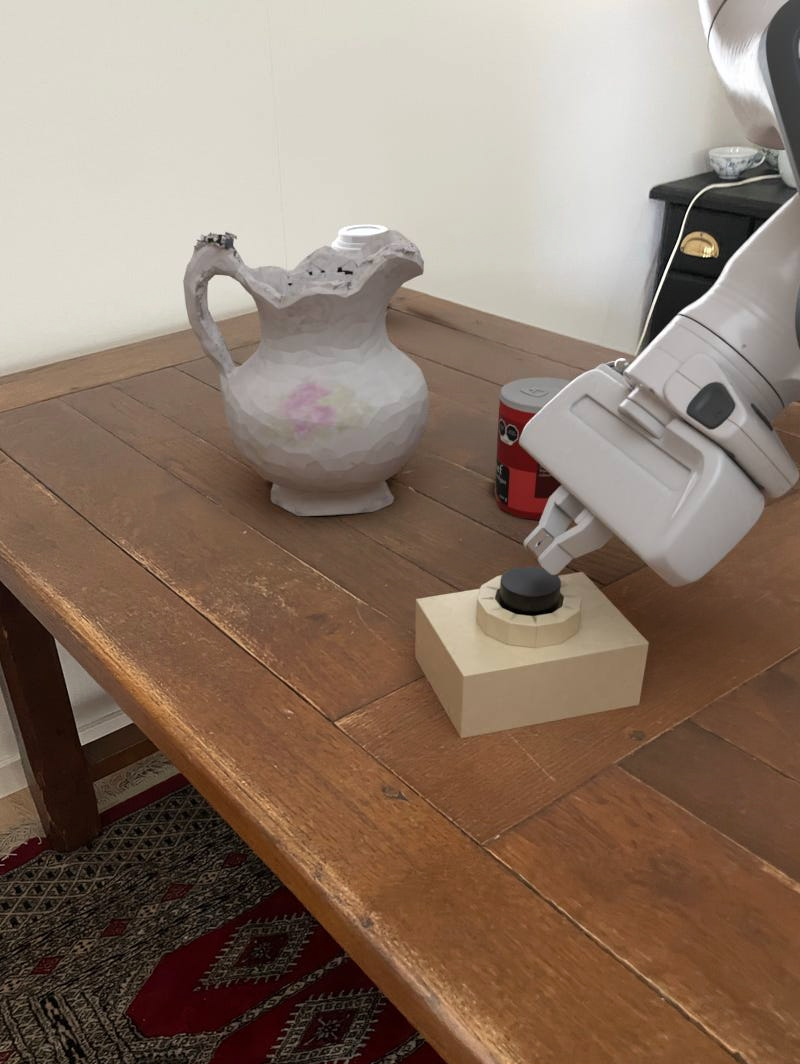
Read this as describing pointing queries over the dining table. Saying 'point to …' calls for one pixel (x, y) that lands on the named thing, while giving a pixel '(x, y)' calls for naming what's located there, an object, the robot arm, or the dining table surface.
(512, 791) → the dining table surface
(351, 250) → the coffee cup
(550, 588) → the button
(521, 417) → the canned food
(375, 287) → the ceramic pitcher
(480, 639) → the housing
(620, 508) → the robot arm
